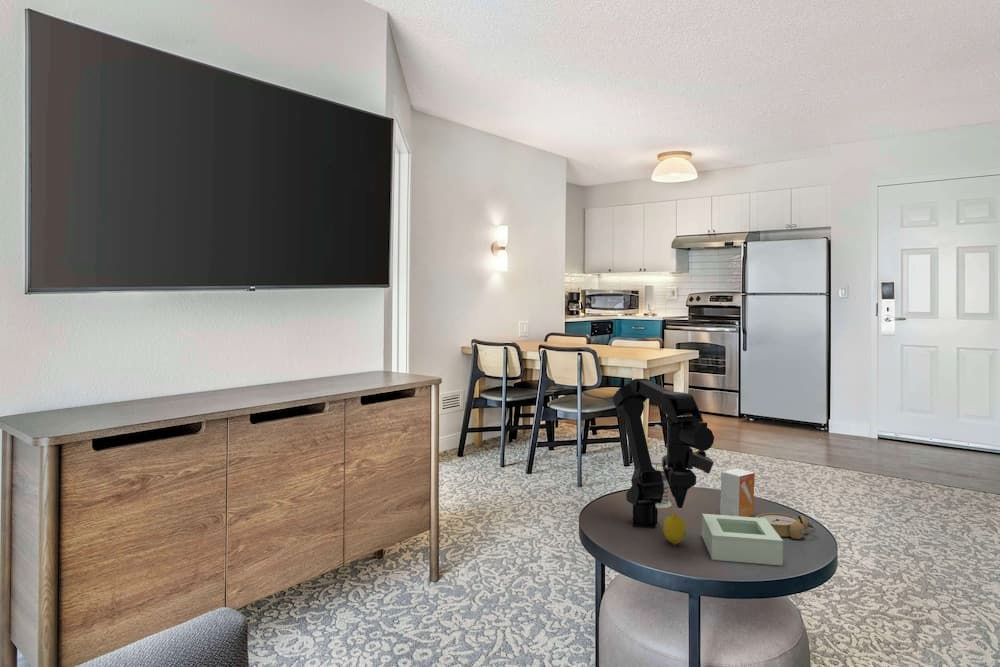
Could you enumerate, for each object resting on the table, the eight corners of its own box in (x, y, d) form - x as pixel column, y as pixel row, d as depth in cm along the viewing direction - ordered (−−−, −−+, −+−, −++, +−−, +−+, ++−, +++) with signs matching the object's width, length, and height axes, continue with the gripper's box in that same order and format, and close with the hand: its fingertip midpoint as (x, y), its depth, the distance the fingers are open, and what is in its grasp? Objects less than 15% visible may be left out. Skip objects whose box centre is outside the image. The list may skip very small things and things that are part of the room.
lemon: (686, 549, 148) (687, 518, 148) (664, 547, 149) (664, 516, 149) (684, 541, 153) (684, 511, 153) (662, 539, 154) (663, 509, 154)
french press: (676, 508, 180) (677, 427, 180) (638, 508, 180) (640, 427, 179) (666, 498, 190) (667, 422, 189) (631, 498, 190) (632, 421, 189)
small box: (738, 520, 170) (739, 476, 170) (719, 514, 175) (720, 471, 175) (754, 515, 175) (755, 472, 174) (734, 509, 180) (735, 467, 179)
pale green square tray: (711, 559, 142) (712, 535, 142) (701, 535, 158) (702, 513, 157) (782, 565, 139) (783, 540, 139) (764, 540, 155) (765, 518, 154)
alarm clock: (760, 511, 170) (817, 513, 161) (763, 528, 170) (820, 531, 160) (749, 521, 162) (808, 523, 152) (752, 539, 161) (811, 543, 152)
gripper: (718, 451, 140) (717, 516, 141) (704, 436, 159) (703, 493, 159) (671, 449, 142) (669, 513, 142) (662, 434, 160) (661, 490, 161)
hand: (677, 502), depth 151 cm, fingers open, 9 cm apart
